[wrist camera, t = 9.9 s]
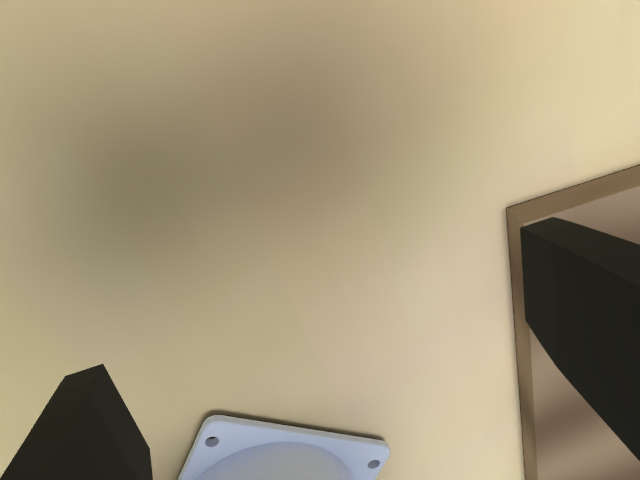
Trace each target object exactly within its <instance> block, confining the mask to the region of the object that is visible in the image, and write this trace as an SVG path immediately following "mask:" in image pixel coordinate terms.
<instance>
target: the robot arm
mask: <svg viewBox="0 0 640 480" xmlns="http://www.w3.org/2000/svg"><path fill="white" fill-rule="evenodd" d="M520 239H521V256H522V273H523V290H524V308H525V321H526V322H527V324H528V325H529V327H530V328H531V330H532V331H533V333H534V334H535V336H536V338H537V339H538V341H539V342H540V344H541V345H542V347H543V348H544V350H545V351H546V353H547V354H548V355H549V357H550V358H551V360H552V361H553V363H554V364H555V366H556V367H557V368H558V369H559V370H560V372H561V373H562V374H563V375H564V376H565V378H566V379H567V380H568V381H569V382H570V383H571V384H572V386H573V387H574V388H575V389H576V390H577V391H578V392H579V394H580V395H581V396H582V397H583V398H584V399H585V400H586V402H587V403H588V404H589V405H590V406H591V407H592V408H593V409H594V411H595V412H596V413H597V414H598V415H599V416H600V417H601V418H602V420H603V421H604V422H605V423H606V424H607V425H608V426H609V427H610V429H611V430H612V431H613V432H614V433H615V434H616V435H617V437H618V438H619V439H620V440H621V441H622V442H623V443H624V444H625V446H626V447H627V448H628V449H629V450H630V451H631V452H632V453H633V455H634V456H635V457H636V458H637V459H638V460H639V461H640V245H639V244H636V243H633V242H630V241H628V240H625V239H622V238H619V237H616V236H613V235H610V234H607V233H604V232H601V231H598V230H595V229H592V228H589V227H586V226H583V225H580V224H577V223H574V222H570V221H567V220H563V219H560V218H556V217H551V218H548V219H545V220H541V221H538V222H535V223H532V224H529V225H526V226H523V227H520ZM209 437H216V438H213V439H207V438H209ZM389 455H390V449H389V447H388V444H387V443H386V442H385V441H382V440H376V439H370V438H364V437H357V436H351V435H344V434H338V433H332V432H325V431H319V430H313V429H306V428H300V427H293V426H287V425H281V424H274V423H268V422H262V421H255V420H249V419H242V418H236V417H230V416H223V415H214V416H210V417H208V418H207V419H206V420H205V421H204V422H203V424H202V426H201V428H200V431H199V433H198V435H197V437H196V440H195V442H194V444H193V446H192V449H191V451H190V453H189V455H188V458H187V460H186V462H185V464H184V467H183V469H182V471H181V473H180V475H179V478H178V480H375V478H376V476H377V475H378V473H379V472H380V470H381V468H382V467H383V465H384V463H385V462H386V460H387V458H388V457H389ZM372 460H373V461H372ZM0 480H153V476H152V467H151V458H150V448H149V447H148V445H147V443H146V441H145V439H144V438H143V436H142V434H141V432H140V430H139V428H138V427H137V425H136V423H135V421H134V419H133V418H132V416H131V414H130V412H129V410H128V408H127V407H126V405H125V403H124V401H123V399H122V398H121V396H120V394H119V392H118V390H117V388H116V387H115V385H114V383H113V381H112V379H111V378H110V376H109V374H108V372H107V370H106V368H105V367H104V365H103V364H101V365H98V366H95V367H92V368H89V369H86V370H83V371H79V372H76V373H73V374H70V375H67V376H65V377H64V379H63V380H62V382H61V383H60V385H59V386H58V388H57V389H56V391H55V393H54V394H53V396H52V397H51V399H50V400H49V402H48V404H47V405H46V407H45V408H44V410H43V412H42V413H41V415H40V417H39V418H38V420H37V421H36V423H35V425H34V426H33V428H32V429H31V431H30V433H29V434H28V436H27V437H26V439H25V441H24V442H23V444H22V445H21V447H20V448H19V450H18V452H17V453H16V455H15V456H14V458H13V459H12V461H11V463H10V464H9V466H8V467H7V469H6V470H5V472H4V473H3V475H2V477H1V478H0Z"/></svg>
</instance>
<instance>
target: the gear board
mask: <svg viewBox="0 0 640 480" xmlns="http://www.w3.org/2000/svg"><path fill="white" fill-rule="evenodd" d="M551 217H556V218H560V219H563V220H567V221H570V222H574V223H577V224H580V225H583V226H586V227H589V228H592V229H595V230H598V231H601V232H604V233H607V234H610V235H613V236H616V237H619V238H622V239H625V240H628V241H630V242H633V243H636V244H639V245H640V165H639V166H635V167H632V168H629V169H626V170H623V171H620V172H617V173H614V174H611V175H608V176H605V177H601V178H598V179H595V180H592V181H589V182H586V183H583V184H580V185H577V186H574V187H570V188H567V189H564V190H561V191H558V192H555V193H552V194H549V195H546V196H543V197H540V198H536V199H533V200H530V201H527V202H524V203H521V204H518V205H515V206H512V207H509V208H507V223H508V237H509V251H510V265H511V279H512V294H513V308H514V322H515V336H516V350H517V365H518V379H519V393H520V407H521V421H522V435H523V450H524V464H525V478H526V480H640V461H639V460H638V459H637V458H636V457H635V456H634V455H633V453H632V452H631V451H630V450H629V449H628V448H627V447H626V446H625V444H624V443H623V442H622V441H621V440H620V439H619V438H618V437H617V435H616V434H615V433H614V432H613V431H612V430H611V429H610V427H609V426H608V425H607V424H606V423H605V422H604V421H603V420H602V418H601V417H600V416H599V415H598V414H597V413H596V412H595V411H594V409H593V408H592V407H591V406H590V405H589V404H588V403H587V402H586V400H585V399H584V398H583V397H582V396H581V395H580V394H579V392H578V391H577V390H576V389H575V388H574V387H573V386H572V384H571V383H570V382H569V381H568V380H567V379H566V378H565V376H564V375H563V374H562V373H561V372H560V370H559V369H558V368H557V367H556V366H555V364H554V363H553V361H552V360H551V358H550V357H549V355H548V354H547V353H546V351H545V350H544V348H543V347H542V345H541V344H540V342H539V341H538V339H537V338H536V336H535V334H534V333H533V331H532V330H531V328H530V327H529V325H528V324H527V322H526V321H525V308H524V290H523V273H522V256H521V239H520V227H523V226H526V225H529V224H532V223H535V222H538V221H541V220H545V219H548V218H551Z"/></svg>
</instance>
